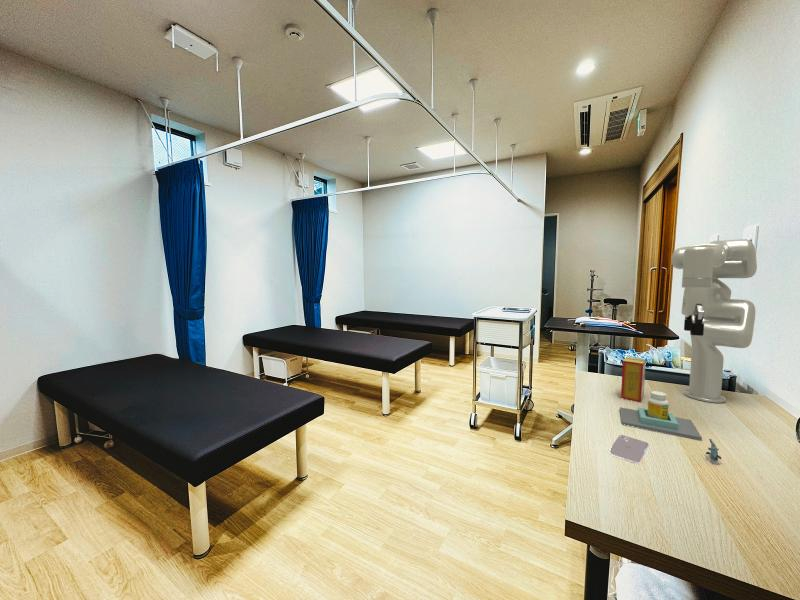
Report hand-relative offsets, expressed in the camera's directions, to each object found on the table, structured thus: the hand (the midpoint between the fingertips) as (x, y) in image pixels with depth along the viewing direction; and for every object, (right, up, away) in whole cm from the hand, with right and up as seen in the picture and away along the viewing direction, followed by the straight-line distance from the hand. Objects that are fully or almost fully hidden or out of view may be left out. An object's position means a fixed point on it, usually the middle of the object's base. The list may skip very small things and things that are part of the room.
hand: (693, 332), depth 112 cm
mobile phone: (-35, -32, -18) cm, 51 cm away
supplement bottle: (-15, -30, -3) cm, 33 cm away
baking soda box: (-6, -29, +21) cm, 36 cm away
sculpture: (-16, -33, -24) cm, 44 cm away
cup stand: (-15, -31, -3) cm, 34 cm away
